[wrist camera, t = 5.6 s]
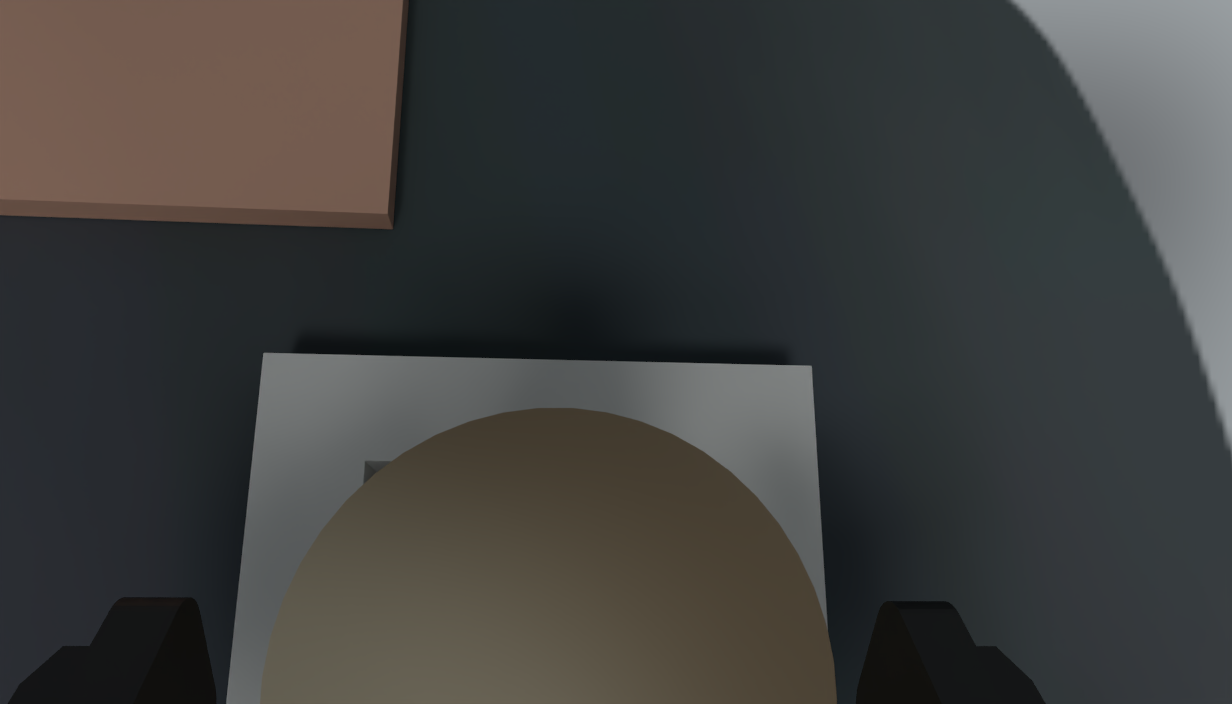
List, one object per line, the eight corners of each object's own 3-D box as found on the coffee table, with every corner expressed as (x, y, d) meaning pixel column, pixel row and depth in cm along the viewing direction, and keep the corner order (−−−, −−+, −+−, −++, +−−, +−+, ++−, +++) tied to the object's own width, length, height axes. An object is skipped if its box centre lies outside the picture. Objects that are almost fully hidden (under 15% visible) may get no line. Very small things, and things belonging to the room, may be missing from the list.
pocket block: (821, 944, 17) (849, 975, 15) (223, 966, 16) (194, 1001, 14) (790, 384, 20) (811, 365, 18) (283, 373, 19) (263, 352, 17)
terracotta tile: (392, 229, 20) (387, 213, 19) (-106, 210, 19) (-133, 194, 18) (419, -151, 22) (415, -178, 22) (-15, -183, 22) (-36, -213, 21)
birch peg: (548, 824, 17) (588, 1175, 6) (368, 659, 17) (129, 731, 7) (700, 628, 18) (943, 651, 8) (528, 478, 19) (531, 303, 8)
